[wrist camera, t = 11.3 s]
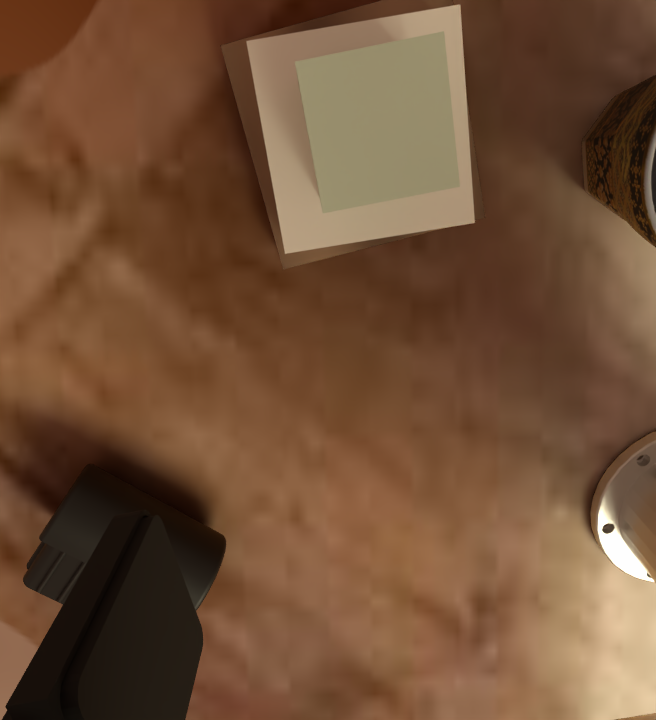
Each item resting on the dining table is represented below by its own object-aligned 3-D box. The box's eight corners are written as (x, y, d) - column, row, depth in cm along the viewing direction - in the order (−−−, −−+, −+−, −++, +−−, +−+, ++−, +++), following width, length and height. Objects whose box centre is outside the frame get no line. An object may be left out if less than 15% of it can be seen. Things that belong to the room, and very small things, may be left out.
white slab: (442, 20, 28) (460, 4, 24) (457, 214, 31) (474, 222, 28) (253, 52, 28) (246, 41, 25) (287, 241, 31) (285, 253, 28)
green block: (413, 55, 25) (443, 31, 19) (428, 176, 27) (459, 186, 21) (297, 79, 25) (294, 61, 20) (319, 198, 27) (323, 213, 21)
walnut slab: (434, -2, 30) (449, -19, 27) (468, 210, 34) (485, 217, 31) (229, 55, 31) (220, 45, 28) (285, 257, 35) (283, 269, 32)
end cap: (234, 513, 41) (220, 582, 34) (181, 582, 42) (159, 660, 36) (103, 440, 38) (62, 500, 32) (53, 516, 40) (6, 587, 34)
